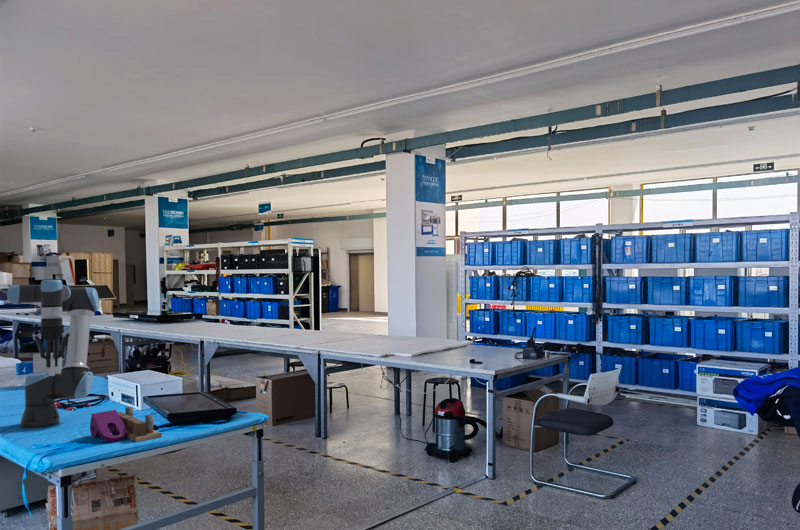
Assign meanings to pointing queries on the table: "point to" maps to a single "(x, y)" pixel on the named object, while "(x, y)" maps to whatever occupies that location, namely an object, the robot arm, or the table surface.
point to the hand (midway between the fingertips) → (51, 375)
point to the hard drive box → (44, 364)
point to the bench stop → (138, 426)
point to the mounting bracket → (108, 426)
